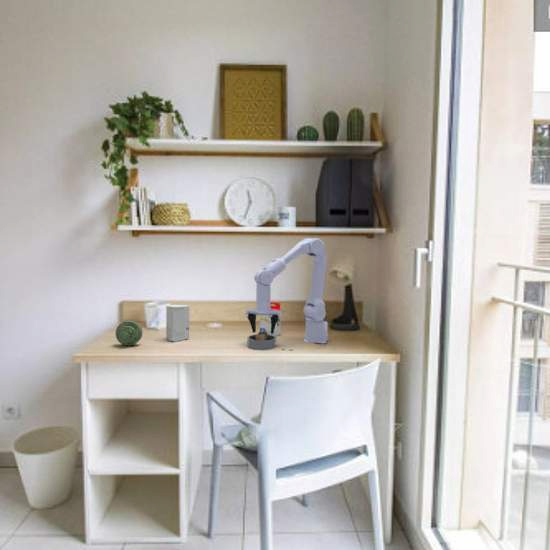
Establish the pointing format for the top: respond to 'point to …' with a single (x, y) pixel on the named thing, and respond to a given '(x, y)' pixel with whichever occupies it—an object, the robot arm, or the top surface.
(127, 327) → the decorative artifact
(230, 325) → the top surface
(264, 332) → the loose walnut peg
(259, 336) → the walnut peg in cup
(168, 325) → the skincare box
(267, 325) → the ink box
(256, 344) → the charcoal cup
